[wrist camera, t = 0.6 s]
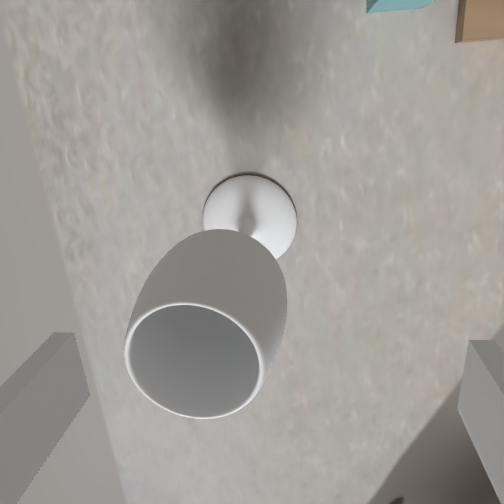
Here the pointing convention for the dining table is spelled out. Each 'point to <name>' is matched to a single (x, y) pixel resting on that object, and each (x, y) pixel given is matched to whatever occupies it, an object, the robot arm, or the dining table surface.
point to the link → (395, 5)
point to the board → (480, 20)
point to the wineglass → (215, 305)
